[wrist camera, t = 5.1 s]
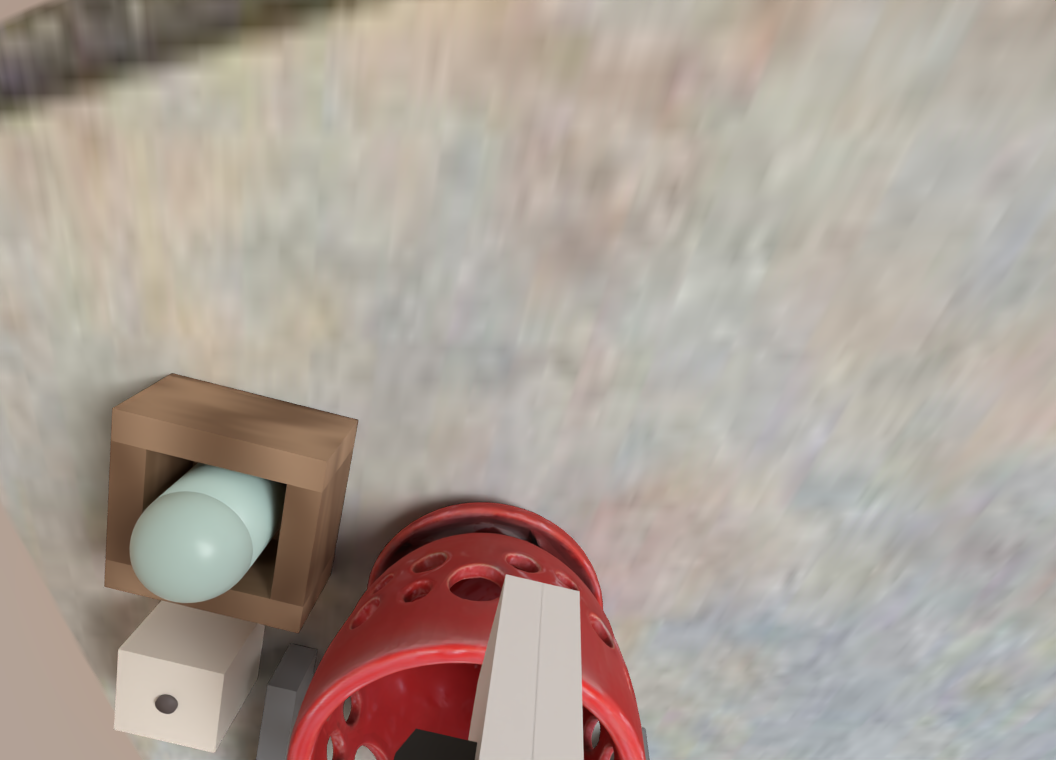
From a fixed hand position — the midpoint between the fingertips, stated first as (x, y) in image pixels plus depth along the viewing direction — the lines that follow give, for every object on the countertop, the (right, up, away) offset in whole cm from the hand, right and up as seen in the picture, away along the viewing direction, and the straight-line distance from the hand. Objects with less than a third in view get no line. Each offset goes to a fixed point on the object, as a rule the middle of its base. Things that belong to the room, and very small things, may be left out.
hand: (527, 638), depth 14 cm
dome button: (-14, 0, +19) cm, 23 cm away
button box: (-14, 0, +20) cm, 24 cm away
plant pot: (-2, -6, +22) cm, 22 cm away
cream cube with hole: (-17, -9, +24) cm, 30 cm away
